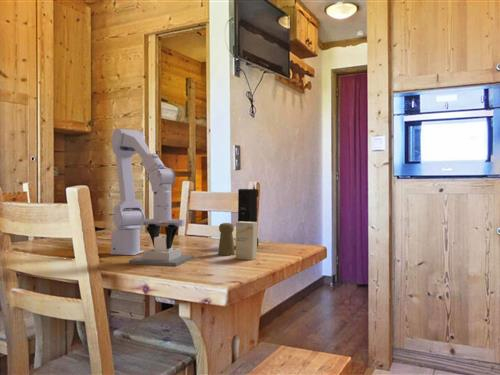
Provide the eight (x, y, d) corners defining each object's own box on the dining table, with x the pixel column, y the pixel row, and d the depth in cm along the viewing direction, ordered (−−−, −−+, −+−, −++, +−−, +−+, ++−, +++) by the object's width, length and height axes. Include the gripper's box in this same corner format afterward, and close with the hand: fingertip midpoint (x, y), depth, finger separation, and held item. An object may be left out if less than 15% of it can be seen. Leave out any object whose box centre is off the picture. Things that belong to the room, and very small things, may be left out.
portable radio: (234, 246, 169) (234, 182, 169) (245, 244, 173) (245, 182, 173) (247, 248, 164) (247, 182, 163) (259, 246, 168) (258, 182, 167)
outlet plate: (128, 263, 134) (128, 252, 134) (150, 256, 147) (150, 245, 147) (176, 266, 130) (176, 254, 130) (194, 258, 143) (194, 247, 143)
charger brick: (154, 254, 137) (154, 237, 137) (161, 252, 142) (161, 235, 142) (165, 255, 136) (165, 237, 136) (172, 253, 141) (172, 235, 141)
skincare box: (235, 258, 142) (235, 222, 142) (240, 256, 146) (240, 221, 146) (252, 260, 139) (252, 222, 139) (257, 258, 143) (257, 221, 143)
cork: (232, 256, 147) (232, 224, 147) (215, 255, 148) (215, 223, 148) (236, 253, 153) (236, 222, 153) (220, 252, 154) (220, 222, 154)
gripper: (135, 206, 136) (136, 249, 136) (177, 206, 133) (178, 250, 133) (146, 205, 143) (147, 245, 143) (187, 205, 139) (187, 247, 139)
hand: (162, 248), depth 138 cm, fingers closed on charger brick, 4 cm apart
